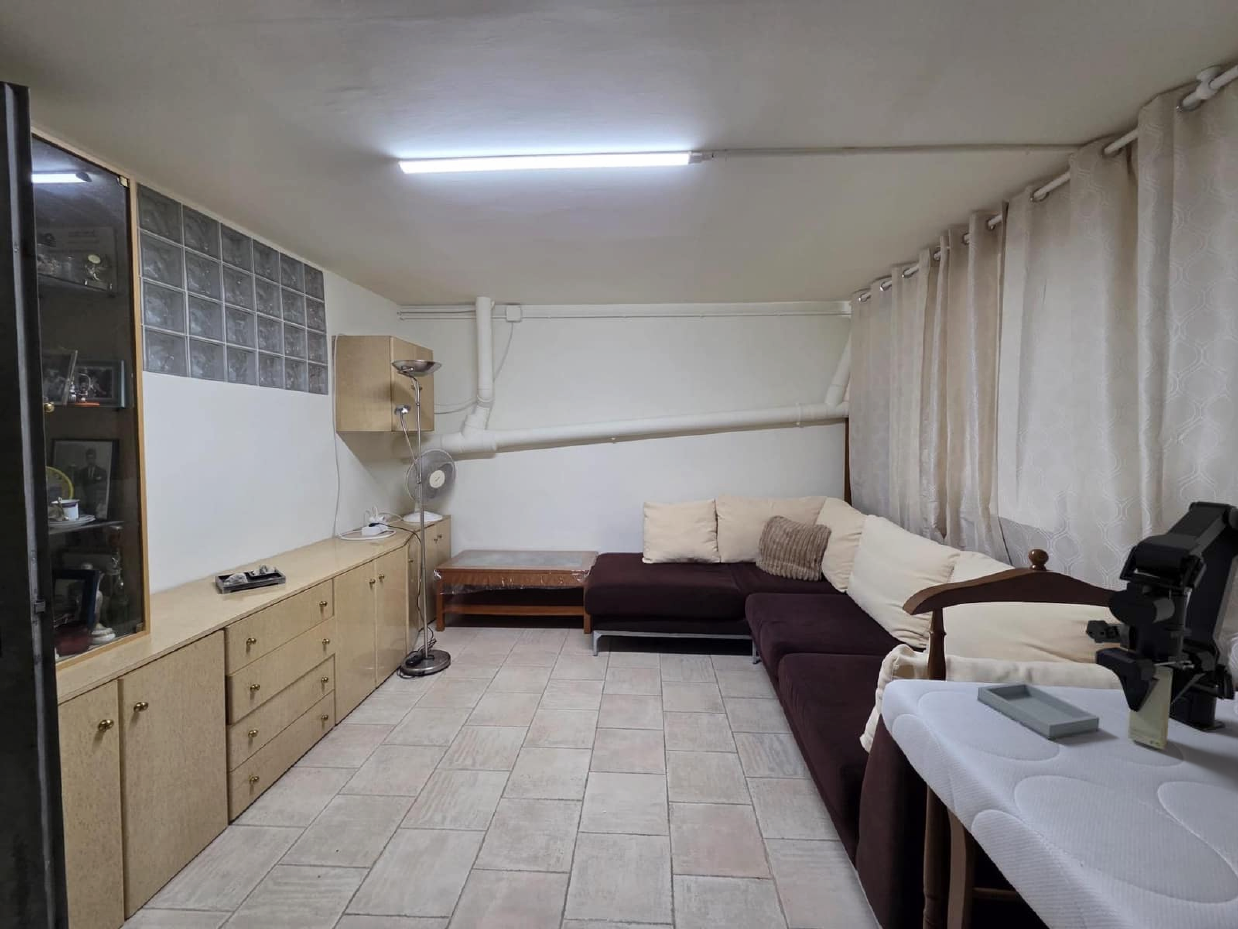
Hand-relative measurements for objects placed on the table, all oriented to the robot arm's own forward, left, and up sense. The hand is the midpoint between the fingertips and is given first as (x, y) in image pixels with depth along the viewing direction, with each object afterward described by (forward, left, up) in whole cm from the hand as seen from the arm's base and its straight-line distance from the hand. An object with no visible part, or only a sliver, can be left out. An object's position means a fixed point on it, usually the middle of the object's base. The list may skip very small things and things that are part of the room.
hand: (1149, 708), depth 84 cm
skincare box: (0, 0, -5) cm, 5 cm away
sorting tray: (+11, -10, -6) cm, 16 cm away
